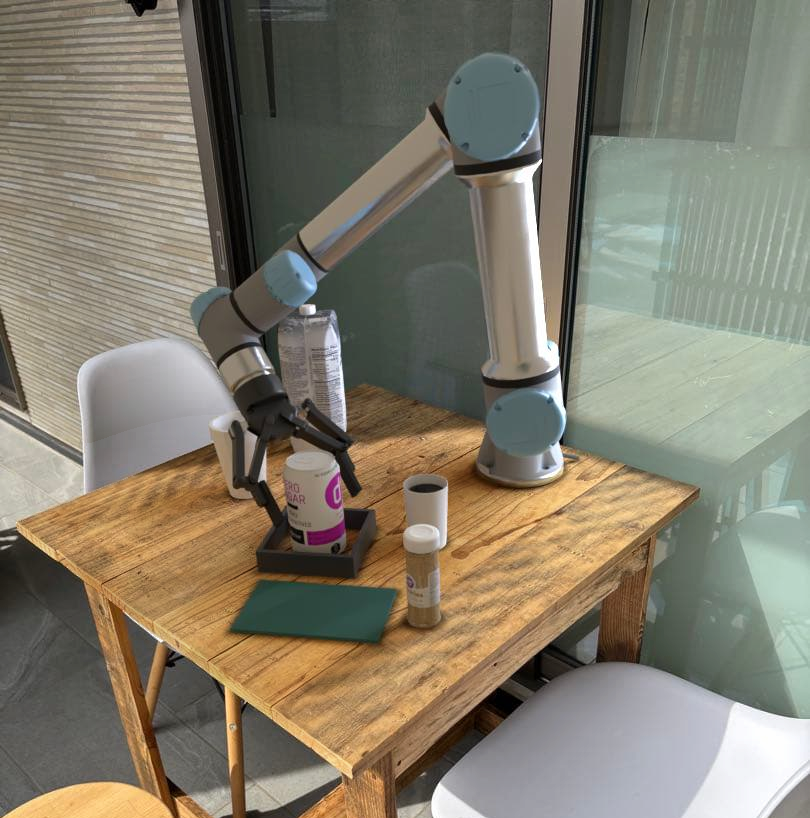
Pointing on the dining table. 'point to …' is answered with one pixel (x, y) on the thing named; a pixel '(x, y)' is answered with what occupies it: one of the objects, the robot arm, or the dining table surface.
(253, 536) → the dining table surface
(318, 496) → the supplement can
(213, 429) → the foam cup
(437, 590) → the sprinkles bottle
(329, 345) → the juice carton
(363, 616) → the mat
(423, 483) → the white coffee cup
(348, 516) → the square frame
